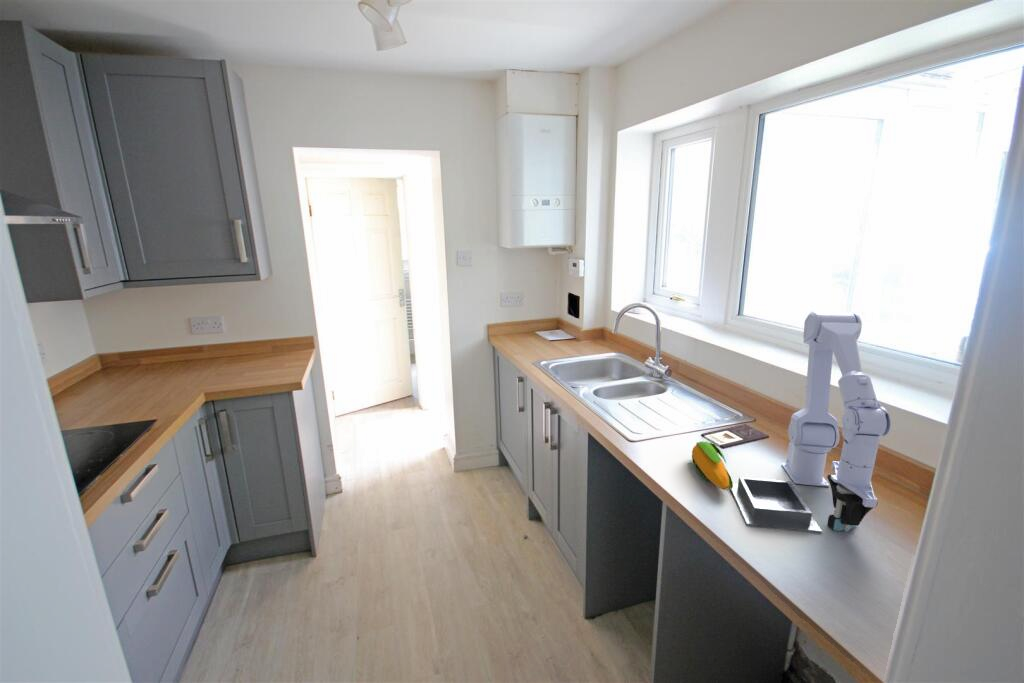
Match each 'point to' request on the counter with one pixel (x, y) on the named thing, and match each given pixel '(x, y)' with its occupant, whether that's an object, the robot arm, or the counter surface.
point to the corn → (711, 464)
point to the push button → (839, 509)
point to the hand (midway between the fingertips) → (845, 515)
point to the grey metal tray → (773, 505)
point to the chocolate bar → (734, 436)
